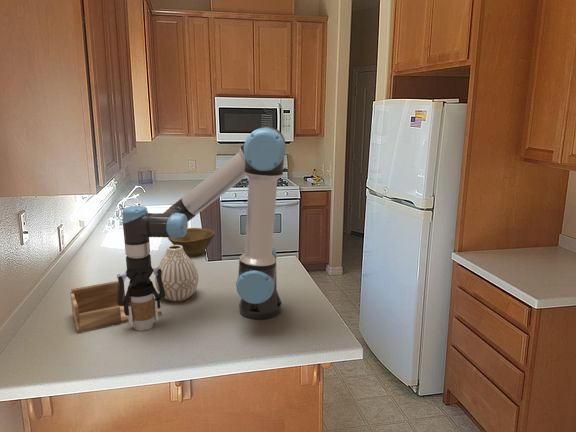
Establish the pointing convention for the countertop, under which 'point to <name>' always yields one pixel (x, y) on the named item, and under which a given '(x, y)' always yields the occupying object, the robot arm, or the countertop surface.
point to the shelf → (97, 307)
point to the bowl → (194, 241)
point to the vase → (177, 274)
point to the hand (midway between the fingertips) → (143, 320)
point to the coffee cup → (142, 305)
